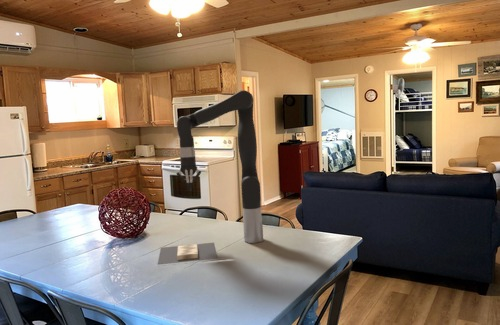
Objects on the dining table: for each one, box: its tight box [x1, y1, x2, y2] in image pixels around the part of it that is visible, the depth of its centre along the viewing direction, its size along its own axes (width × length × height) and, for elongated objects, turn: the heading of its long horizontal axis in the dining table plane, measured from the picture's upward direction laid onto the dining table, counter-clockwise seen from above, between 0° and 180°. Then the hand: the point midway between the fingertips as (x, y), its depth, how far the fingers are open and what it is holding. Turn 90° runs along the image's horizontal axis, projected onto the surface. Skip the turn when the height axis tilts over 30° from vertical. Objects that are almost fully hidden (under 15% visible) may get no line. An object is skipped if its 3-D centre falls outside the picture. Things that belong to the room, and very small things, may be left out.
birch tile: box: [177, 243, 198, 260], centre depth 184 cm, size 9×2×14 cm
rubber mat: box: [156, 242, 218, 267], centre depth 186 cm, size 26×24×1 cm
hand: (190, 189), depth 204 cm, fingers closed
